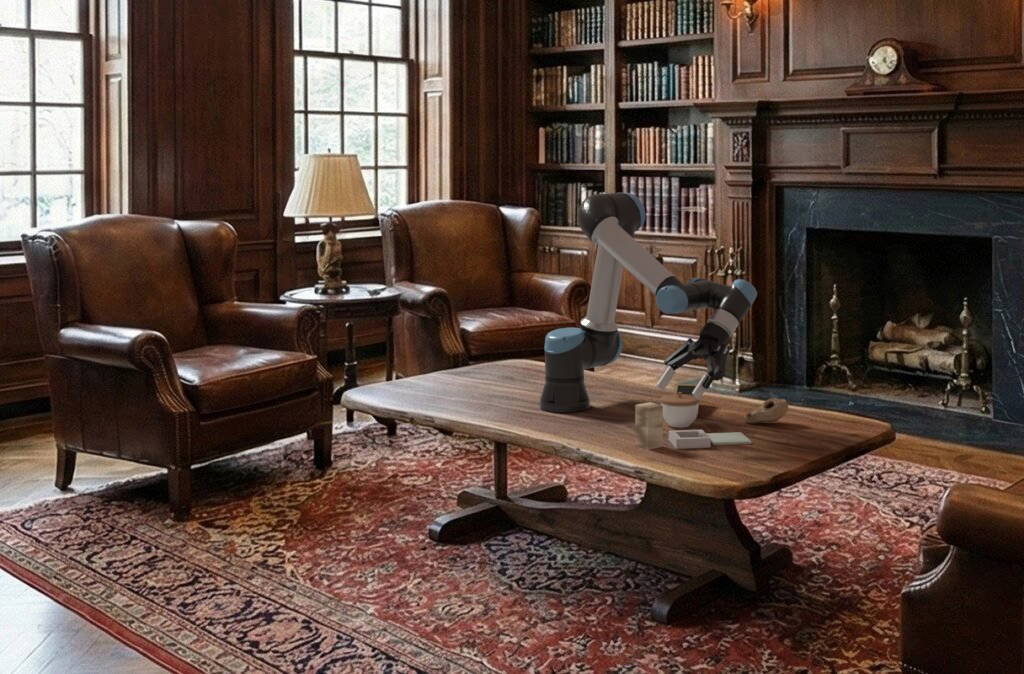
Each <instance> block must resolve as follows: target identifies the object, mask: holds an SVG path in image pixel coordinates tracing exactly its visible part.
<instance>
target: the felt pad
mask: <svg viewBox="0 0 1024 674" xmlns="http://www.w3.org/2000/svg"><path fill="white" fill-rule="evenodd" d="M705 433H706V434H707V435H708V436H709V437H710V438H711V444H712V445H714V446H731V445H732V446H733V445H752V440H751V439H749V438H748V437H747V436H746V435H745V434H744V433H742V431H741V432H740V431H736V432H735V431H734V432H712V433H711V432H710V433H708V432H705Z"/></svg>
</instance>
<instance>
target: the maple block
mask: <svg viewBox="0 0 1024 674" xmlns="http://www.w3.org/2000/svg"><path fill="white" fill-rule="evenodd" d="M634 407H635V410H634V411H635V412H634V413H635V416H634V417H635V419H634V420H635V422H634V424H635V427H634V428H635V430H634V431H635V432H634V433H635V435H634V436H635V437H634V438H635V439H634V441H635V442H634V444H635V447H638V448H641V449H644V450H647V451H649V450H653V449H658V448H662V447H663V431H664V430H663V426H664V425H663V423H664V422H663V421H664V418H663V406H662V405H661V404H658V403H655V402H651V401H650V402H649V401H648V402H644V403H638V404H635V406H634Z"/></svg>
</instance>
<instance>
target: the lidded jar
mask: <svg viewBox="0 0 1024 674" xmlns="http://www.w3.org/2000/svg"><path fill="white" fill-rule="evenodd" d="M699 403H700V399H699V400H697V399H696V398H695V397H694V396H693V395H687V394H682V392H678V394H673V393H672V394H665V395H663V396H661V397H660V405H662V406H663V421H665V422H666V423H667V424H668V426H669V427H672V428H688V427H691V425H692V424H693V423H694V422H695V420H696V419H697V418H698V413H699ZM696 417H697V418H696Z"/></svg>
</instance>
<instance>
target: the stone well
mask: <svg viewBox="0 0 1024 674" xmlns="http://www.w3.org/2000/svg"><path fill="white" fill-rule="evenodd" d="M706 433H707V432H705V431H704V430H703V429H682V430H681V429H680V430H676V429H675V430H668V441H669V442H670V443H671V445H673V447H674V448H675V449H677V450H678V449H682V450H683V449H705V448H706V449H707V448H711V444H712V443H711V438H710V437H709V436H708V435H707V434H706Z"/></svg>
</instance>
